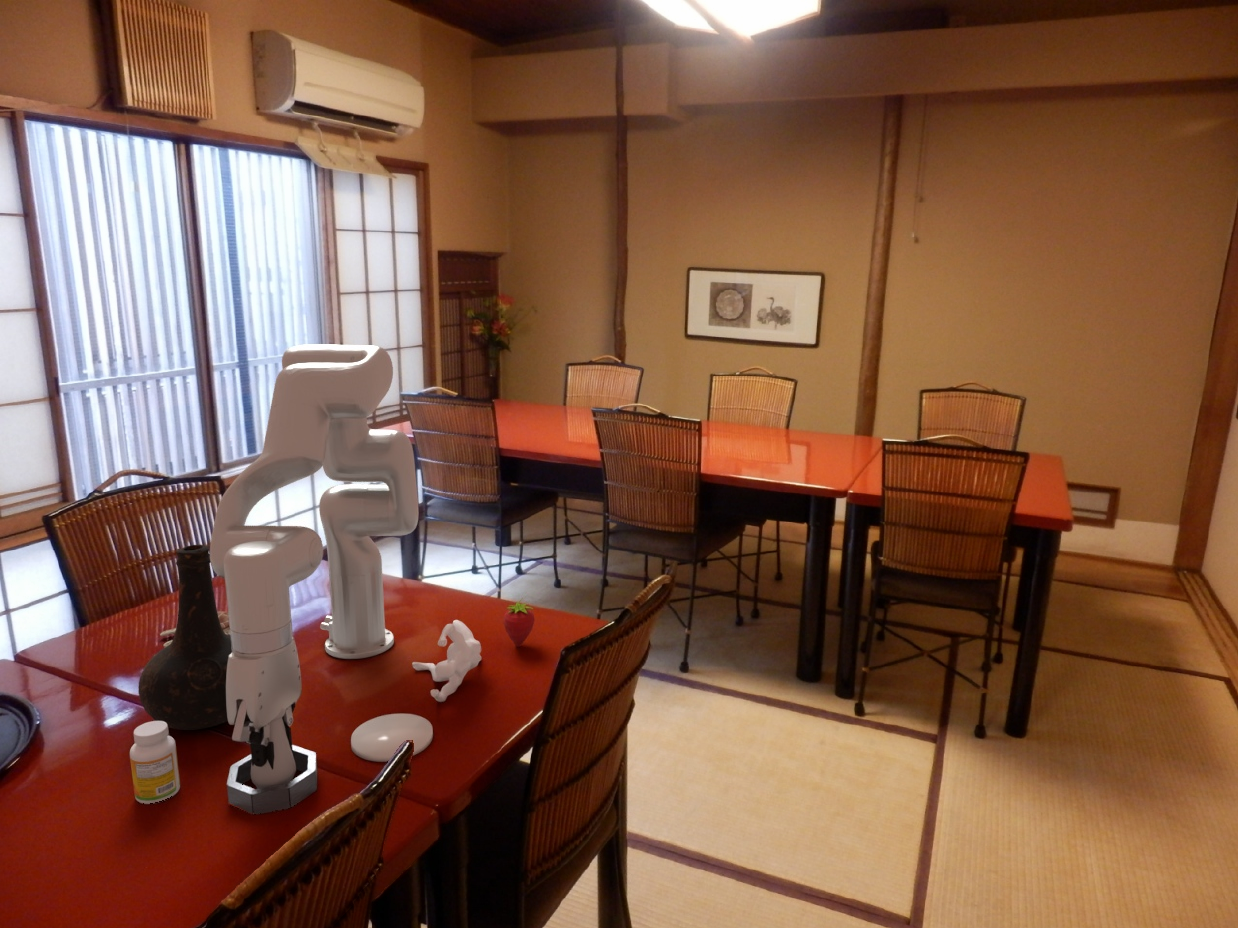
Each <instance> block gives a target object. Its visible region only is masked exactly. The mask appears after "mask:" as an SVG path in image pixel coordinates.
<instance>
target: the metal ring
mask: <svg viewBox="0 0 1238 928" xmlns="http://www.w3.org/2000/svg"><path fill="white" fill-rule="evenodd" d="M292 750H293V752H292V754H293V757H294V760H295V764H296V771H299V772H301V774H299V775H297V777H295V778H294V779H292V781H290V782H289V783H287V784H285V785H279V786H273V787H267V788H261V789H258V788H256V789H255V788H252V787H251V786H248V785H245V784H246V783H247V782H249V781H250V779H251V774H250V773H251V764H252V758H251V753H250V754H249V755H246V756H245V757H244V758H242V759H241V760H238V761H237V762H235V763H233V764H232V765H230V768H229V773H228V777H227V781H226V787H227V798H228V804H229V803H230V804H232V805H234V806H237V807H239V808H241V809H243V810H245V811H247V812H249V813H248V814H250V813H251V814H250V815H252V814H253V813H254V814H256V815H261V814H264V813H265V814H266V813H271V812H272V811H273V812H276V811H275V810H278V811H282V809H284V810H288V808H290V807H292V808H294V807H295V806H296V805H297V803H298V804H299V803H300V802H301V801H303V800H305V799H306V798H308V797H309V796H310V795H312V794H313V793H315V792H317V790H318V766H317V765H318V764H317V762H318V761H317V754H316V753H317V752H315V751H312V750H309V749H306V748H303V747H300V746H298V745H295V744H292ZM251 780H252V779H251ZM246 781H247V782H246ZM245 782H246V783H245ZM243 783H244V784H243ZM242 784H243V785H242ZM294 805H295V806H294ZM290 809H291V808H290ZM245 811H244V812H245ZM247 812H246V813H247ZM260 813H261V814H260ZM254 814H253V815H254Z"/></svg>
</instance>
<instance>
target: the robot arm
mask: <svg viewBox="0 0 1238 928" xmlns="http://www.w3.org/2000/svg"><path fill="white" fill-rule="evenodd" d="M281 358H282V359H281V367H282V369H281V371H280V372H279V373H278V374H277V377H276V379H275V383H274V387H273V388H274V389H273V393H272V398H271V405H270V409H269V410H270V411H269V417H268V420H267V427H266V431H265V435H264V442H263V449H262V452H261V454H260V455H259V457H258V458H256V459H255V460H254V461H253V462H252V463H250V464H249V465H248V466H247V467H246V468H245V469H243V470H242V472H241V473H239V475H238V476H237V477H236V478H235V479H234V480H233V481H232V483H231V484H230V485H229V486H228V488H227V489H226V490H225V492H224V493H223V495H222V497H221V499H220V501H219V503H218V506H217V509H216V512H215V518H214V523H213V527H212V534H211V537H210V539H211V540H210V545H209V546H210V547H209V554H210V561H211V562H210V567H211V569H212V570H213V572H214V573H215V574H216V575H217V576H218V577H220V578H222V579H224V582H225V583H224V584H225V592H226V594H225V595H226V602H227V603H226V605H227V612H228V616H229V626H230V637H231V648H232V653H231V654H230V655H229V658H228V664H227V673H226V707H227V718H228V721H227V722H228V724H229V725H230V726H234V728H233V732H232V735H231V739H232V741H235V742H241V743H243V742H246V743H247V744H249V745H250V754H251V758H252V766H254V765H255V766H258V767H263V766H264V765H265V764H266V762H267V760H268V762H269V764H270V766H271V768H272V770H273V766H274V743H273V742H270V721H271V720H273V719H274V718H275V717H277V716H278V715H279V713H280V711H281V710H282V708H283V709H284V710H285V709H286V712H285V714H284V716H283V717H282V719H283V723H284V726H285V729H286V735H287V739H288V741H289V745H290V748H291V751H292V752H293V750H292V745H293V740H292V739H293V738H292V728H291V726H292V724H293V722H294V717H293V713H294V710H295V709H296V704H297V702H298V700H299V699H300V697H301V695H302V692H303V690H302V677H301V676H302V673H301V667H300V660H299V655H298V648H297V646H296V640H295V637H294V634H293V622H292V611H291V610H292V608H291V596H290V587H292V586H294V585H296V584H297V583H299V582H302V581H304V580H306V579H308V578H309V577H310V576H312V575H313V574H314V573H315V572H316V570H318V568H319V567H320V565H321V563H322V561H323V557H324V545H323V540H322V538H321V537H320V535H319V533H318V532H316V530H314V529H313V528H310V527H307V526H301V525H245V524H246V522H247V518H248V517H249V514H250V513H251V511H252V510H253V509H254V507H255V506H256V505H257V504H258V503H259V502H260V501H261V500H262V499H264V498H265V497H267V496H268V495H270V494H271V493H274V492H276V491H277V490H280V489H282V488H284V487H287V486H288V485H291V484H293V483H296V482H297V481H300V480H302V479H305V478H307V477H310V476H312V475H314V474H315V473H317V472H318V471H320V470H321V469H322V468H323V469H322V470H323V472H324V474H325V476H326V477H327V478H328V479H329V480H332V481H336V482H343V483H344V484H337V485H333V486H331V487H329V488H327V489H326V490H325V491H324V492H323V493H322V495H321V497H320V498H319V505H318V507H319V508H318V509H319V517H320V522H321V525H322V528H323V532H324V533H323V534H324V538H325V543H326V550H327V551H326V552H327V563H328V574H329V576H328V578H329V592H330V594H329V595H330V607H331V609H330V610H331V611H330V612H331V615H329V614H328V615H326V616H325V617H324V620H323V622H321V623H320V625H319V628H320V629H321V630H324V631H328V635H329V637H328V638H327V639H326V641H325V643H324V650H325V652H326V653H327V654H328V655H329V656H332V657H334V658H337V659H345V660H356V659H365V658H370V657H375V656H377V655H379V654H380V655H381V654H382V653H384V652H386V651H388V650H389V649H390V648H392V647H393V645H394V643H395V638H394V636H395V635H394V633H392V631H390V630H388V629H386V622H385V620H386V619H385V601H384V585H383V584H384V582H383V581H384V580H383V578H384V577H383V563H382V562H383V561H382V555H381V552H380V549H379V548H378V546H377V544H376V543H375V542H374V541H373V540H372V538H371V537H382V536H383V537H389V536H392V537H394V536H395V537H396V536H400V537H401V536H405V535H406V536H407V535H408V534H411V533H412V532H414V531H415V530H416V528H417V525H418V523H419V522H418V521H419V499H418V498H419V497H418V488H417V487H418V486H417V476H416V464H415V455H414V450H413V444H412V441H411V440H410V438H409V437H408V435H407V434H406V433H404V432H403V431H400V430H396V429H377V428H376V429H373V428H371V427H369V425H368V424H369V423H368V417H369V416H371V415H372V414H373V413H374V412H375V411H376V409H377V408H378V406H379V405H380V404H381V402H382V401H383V399H384V398H385V397H386V395H387V394H388V392H389V391H390V389H391V385H392V383H393V375H394V366H393V362H392V358H391V356H390V354H389V353H388V352H387V350H386V349H385V348H383V347H381V346H377V345H367V344H365V345H363V344H326V343H324V344H321V343H319V344H317V343H316V344H311V343H309V344H298V345H294V346H291V347H288V348H287V349H286V350H285V351H284V352H283V354H282V357H281ZM372 483H373V484H372ZM374 483H376V484H374ZM379 483H381V484H379ZM382 483H383V484H382ZM259 728H260V731H261V734H260V733H258V732H255V730H256V729H259Z"/></svg>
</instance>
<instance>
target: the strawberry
mask: <svg viewBox="0 0 1238 928" xmlns="http://www.w3.org/2000/svg"><path fill="white" fill-rule="evenodd" d="M522 600H523V598H521V599H519V602H518V601H517V602H516V603H515V604H514V605H513V604H510V605H509V604H508V607H506V608H505V609H506V612H505V613H504V616H503V625H504V626H503V627H504V630H505V632H506V633H507V636H508V637H509V639H510V640H511V641H512V642H513V644H514V645H515V646H516V647H519V648H520V647H521V646H522V645H523V644H524V642H525V641H526V640H527V639H528V637H529V635H530V634H531V632H532V630H533V627H534V624H535V616H534V615H535V614H534V612H533V610H534V608H533V607H531V606H527V603H520V602H521V601H522ZM507 609H508V610H507Z"/></svg>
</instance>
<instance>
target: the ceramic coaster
mask: <svg viewBox="0 0 1238 928" xmlns="http://www.w3.org/2000/svg"><path fill="white" fill-rule="evenodd" d="M433 737H434V733H433V724H431V722H430V721H429V720H428V719H426V718H425V717H422V716H420V715H417V714H413V713H391V714H384V715H381V716H377V717H374V718H371V719H369V720H367V721H365V722H363V723H362V724H360V725H359V726H358V727H356V728H355V730H354V731H353V732H352V734H351V737H350V745H351V746H350V747H351V750H352V752H353V753H354V754H355V755H356V756H358V757H359V758H361V759H363V760H366V761H371V762H376V763H377V762H380V763H383V762H385V763H386V762H387V761H388V760H389V759H390V758H391V757H392V756H393V755H394V753H395V752H396V750H397V749H398V748H399V746H400V745H401V744H402V743H403V742H404V741H406V740H413V743H414V752H413V756H415V755H417V754H419V753H421V752H422V751H424V750H425V749H426V748H428V747H429V745H430V744H431V742H432V740H433Z"/></svg>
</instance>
